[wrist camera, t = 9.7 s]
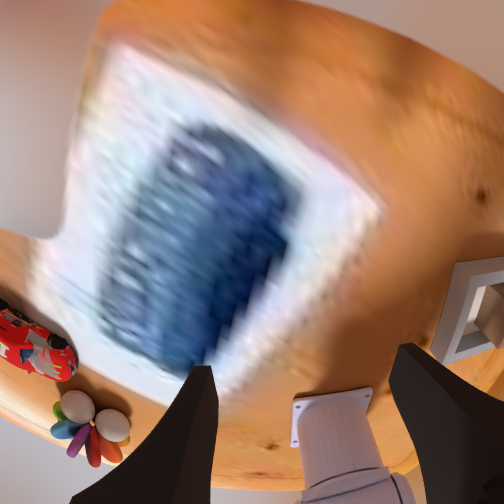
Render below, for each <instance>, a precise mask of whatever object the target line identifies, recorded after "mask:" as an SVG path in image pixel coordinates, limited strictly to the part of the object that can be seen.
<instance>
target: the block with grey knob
mask: <svg viewBox="0 0 504 504" xmlns="http://www.w3.org/2000/svg"><path fill="white" fill-rule="evenodd" d="M474 323H475V325H476V326H477V327H478V328H479V329H480V330H481V331H482V332H483V333H484V334H485V335H486V337H487V338H488V339H489V340H490V341H491V342H492V343H493V344H494V346H495V347H496V348H497V349H500V348H503V347H504V282H502V283H497V284H493V285H488V286H486V288H485V292H484V295H483V298H482V302H481V305H480V308H479V311H478V314H477V317H476V320H475V322H474Z"/></svg>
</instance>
